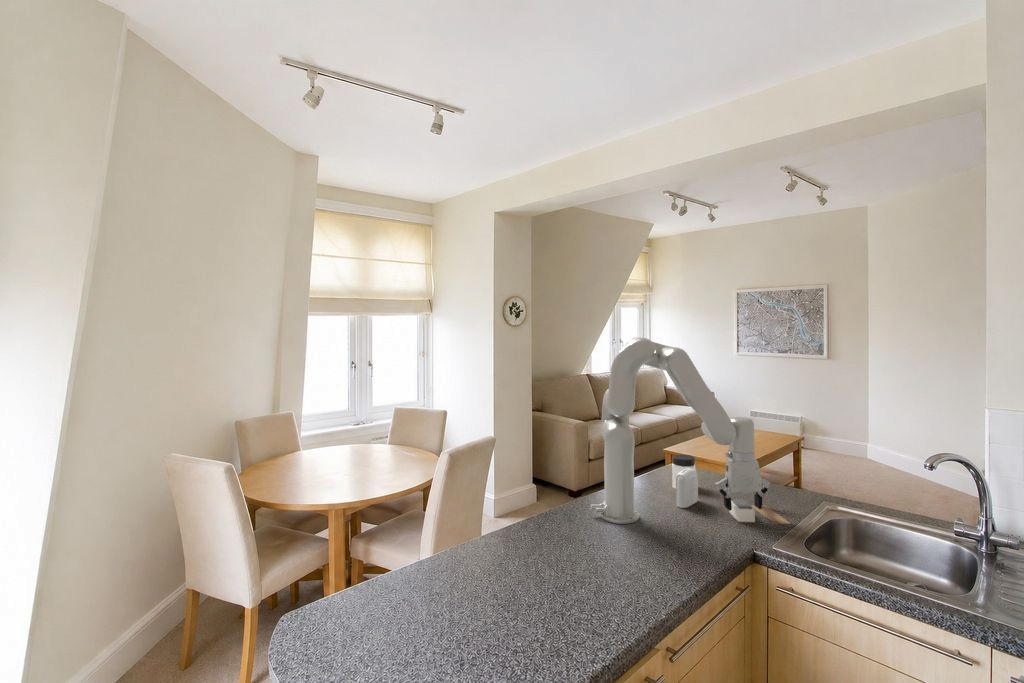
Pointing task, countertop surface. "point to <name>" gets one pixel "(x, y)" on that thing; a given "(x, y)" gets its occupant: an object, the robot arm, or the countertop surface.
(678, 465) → the jar
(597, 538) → the countertop surface
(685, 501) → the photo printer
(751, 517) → the white and grey block
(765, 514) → the strip
